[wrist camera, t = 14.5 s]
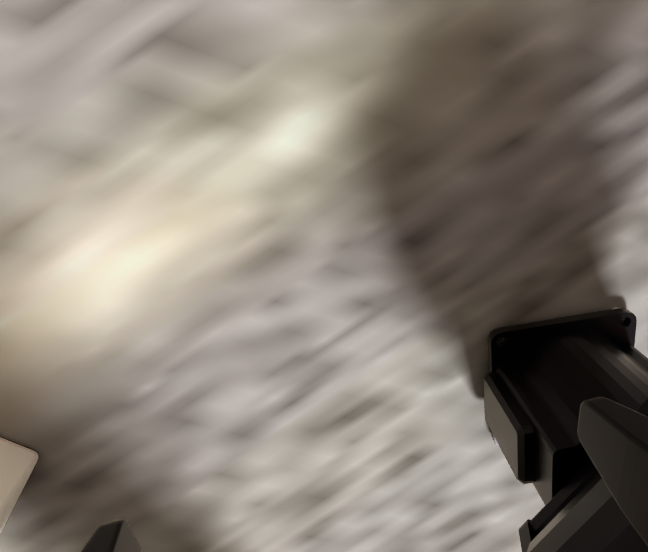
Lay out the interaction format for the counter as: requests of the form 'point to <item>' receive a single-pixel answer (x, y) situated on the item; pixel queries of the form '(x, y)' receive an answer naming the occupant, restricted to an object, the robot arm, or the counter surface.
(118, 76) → the counter surface
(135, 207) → the counter surface
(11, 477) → the medicine bottle
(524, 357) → the robot arm
